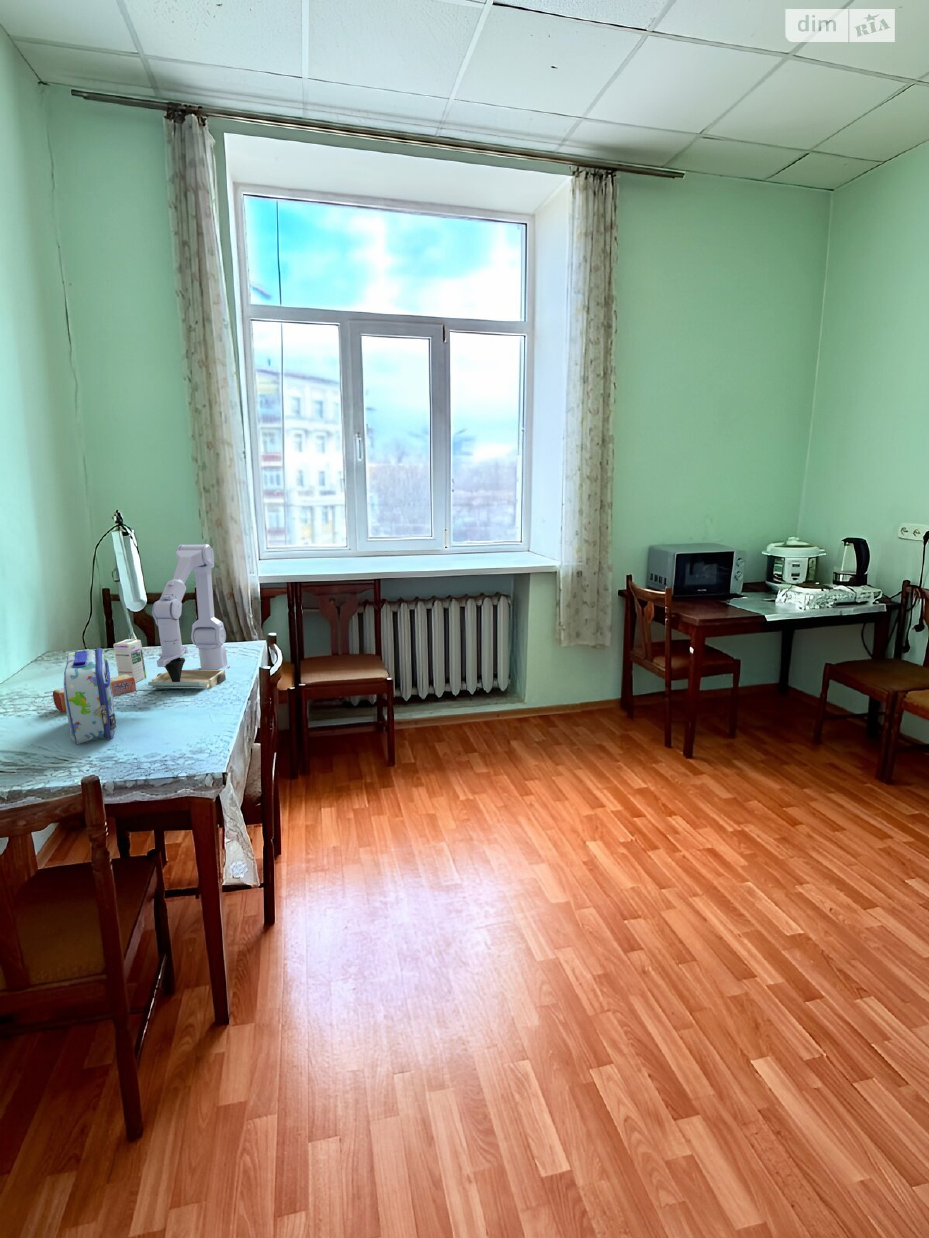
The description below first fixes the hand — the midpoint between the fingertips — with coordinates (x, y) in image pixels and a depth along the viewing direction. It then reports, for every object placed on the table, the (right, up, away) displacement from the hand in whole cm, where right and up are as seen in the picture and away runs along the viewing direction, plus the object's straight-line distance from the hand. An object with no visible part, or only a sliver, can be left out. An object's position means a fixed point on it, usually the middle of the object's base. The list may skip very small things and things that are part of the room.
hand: (176, 682), depth 197 cm
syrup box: (-19, -2, +12) cm, 23 cm away
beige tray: (+1, -2, +9) cm, 9 cm away
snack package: (-22, -6, -3) cm, 23 cm away
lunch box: (-11, -10, -25) cm, 29 cm away
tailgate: (0, -2, +4) cm, 4 cm away
